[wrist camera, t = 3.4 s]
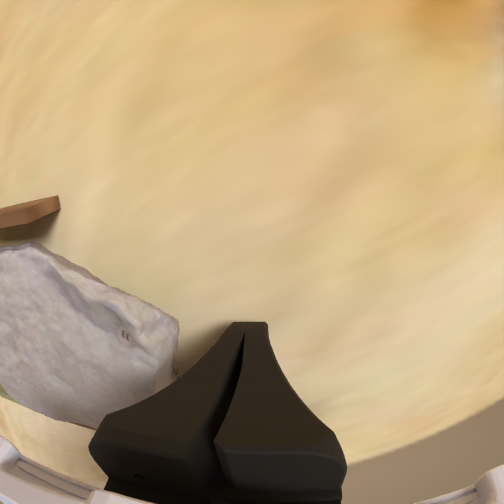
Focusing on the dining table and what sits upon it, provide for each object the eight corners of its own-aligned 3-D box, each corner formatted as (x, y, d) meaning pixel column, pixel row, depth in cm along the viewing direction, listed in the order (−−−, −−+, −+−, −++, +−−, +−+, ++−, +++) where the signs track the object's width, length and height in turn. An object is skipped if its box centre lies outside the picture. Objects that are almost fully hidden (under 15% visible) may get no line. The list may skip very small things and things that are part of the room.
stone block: (17, 224, 15) (28, 367, 16) (-40, 235, 10) (-12, 400, 12) (203, 259, 15) (186, 420, 16) (177, 288, 10) (167, 477, 12)
